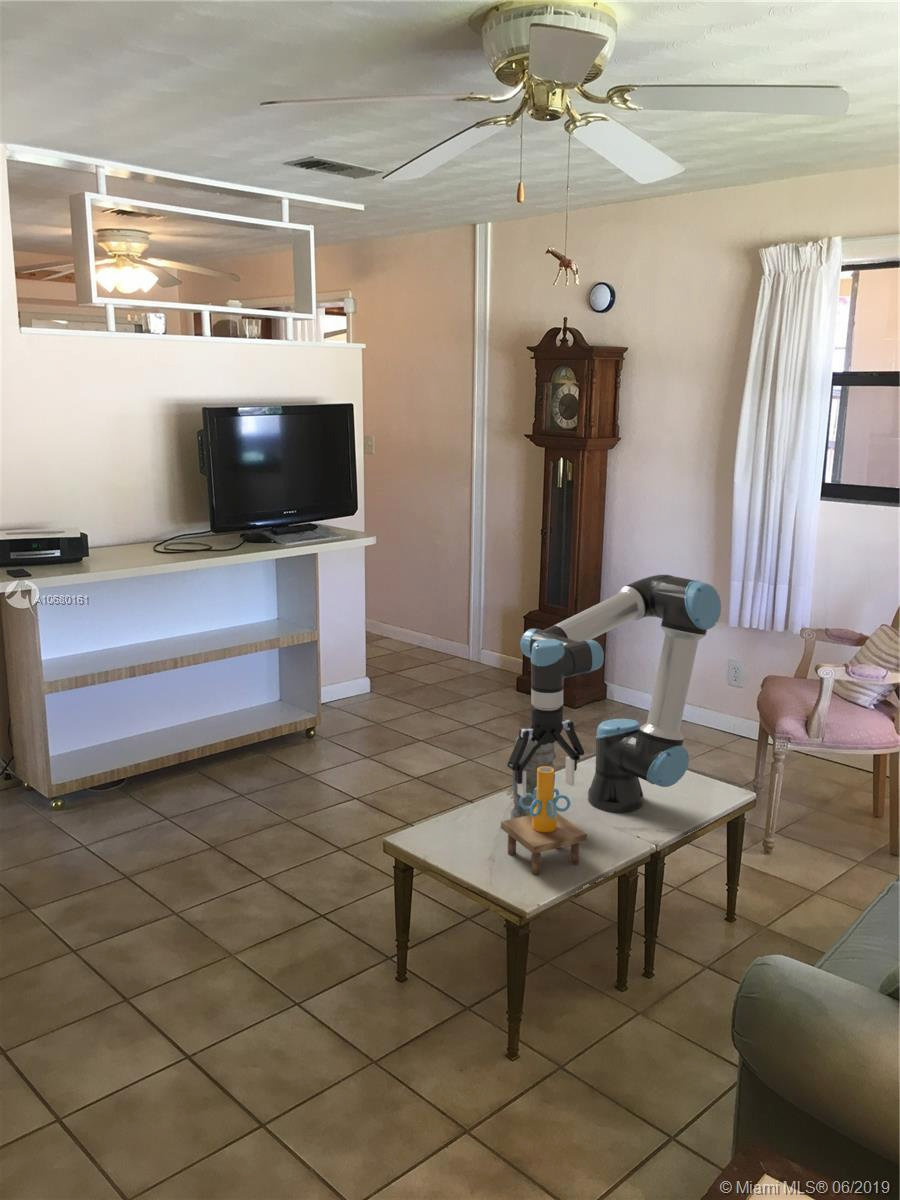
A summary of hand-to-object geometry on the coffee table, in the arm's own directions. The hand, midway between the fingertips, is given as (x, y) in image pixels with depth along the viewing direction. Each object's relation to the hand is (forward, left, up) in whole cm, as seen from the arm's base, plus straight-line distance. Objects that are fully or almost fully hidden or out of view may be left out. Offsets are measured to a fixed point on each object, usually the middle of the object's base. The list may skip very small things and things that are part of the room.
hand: (546, 789), depth 230 cm
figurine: (-9, -20, -18) cm, 28 cm away
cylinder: (0, 0, -10) cm, 10 cm away
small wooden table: (0, 0, -18) cm, 18 cm away
